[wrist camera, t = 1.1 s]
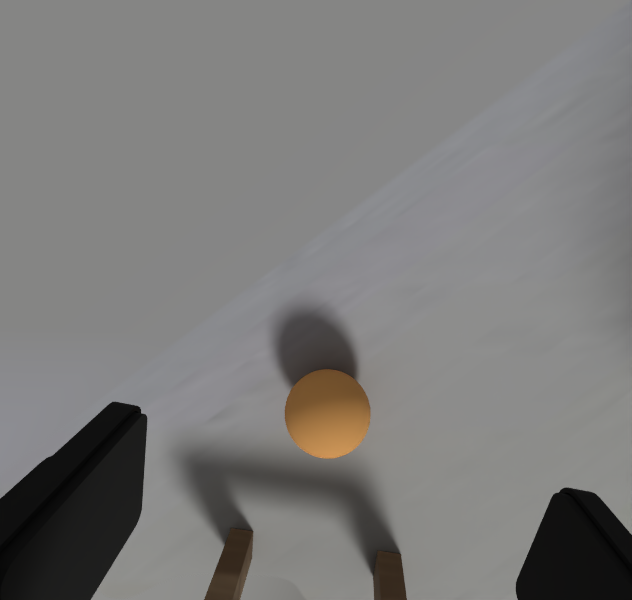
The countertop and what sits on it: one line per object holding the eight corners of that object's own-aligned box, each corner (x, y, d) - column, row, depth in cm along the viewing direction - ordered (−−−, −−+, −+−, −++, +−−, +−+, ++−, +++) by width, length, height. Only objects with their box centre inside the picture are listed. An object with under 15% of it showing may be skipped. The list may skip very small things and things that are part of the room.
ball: (373, 361, 29) (378, 401, 23) (364, 430, 30) (366, 484, 25) (294, 351, 29) (280, 388, 24) (289, 420, 31) (274, 471, 25)
